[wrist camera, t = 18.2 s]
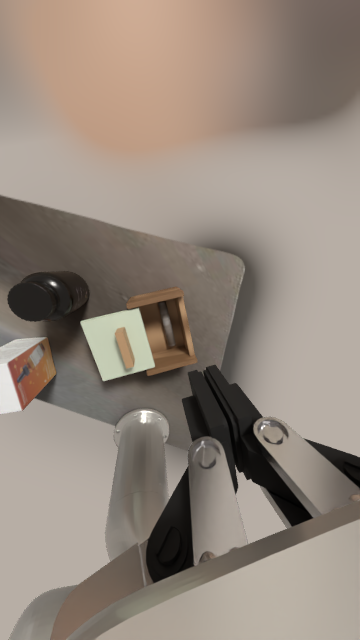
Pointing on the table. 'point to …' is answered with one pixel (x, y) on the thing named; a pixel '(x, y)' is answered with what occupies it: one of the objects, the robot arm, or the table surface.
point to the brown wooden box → (165, 328)
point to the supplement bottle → (48, 296)
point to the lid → (119, 343)
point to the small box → (24, 372)
